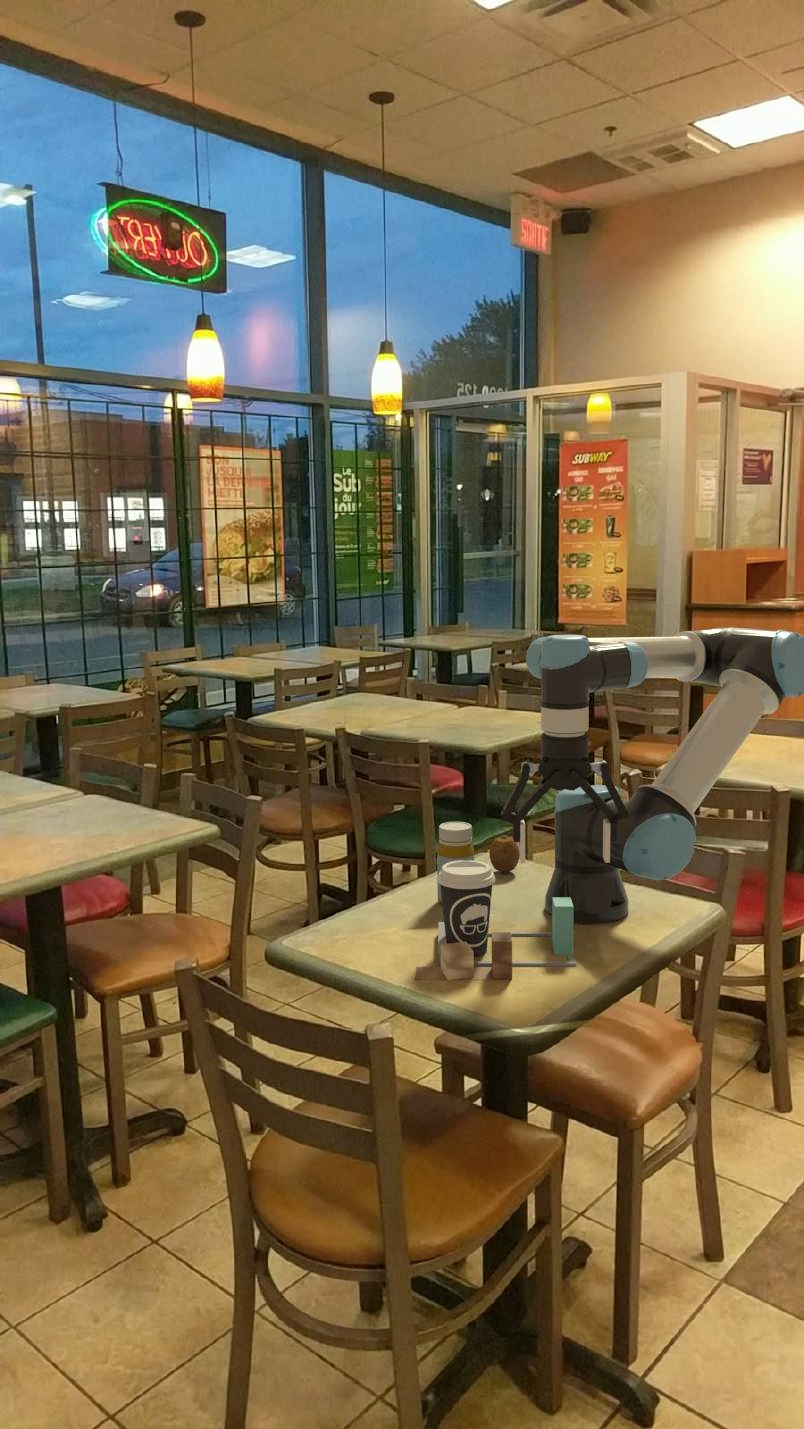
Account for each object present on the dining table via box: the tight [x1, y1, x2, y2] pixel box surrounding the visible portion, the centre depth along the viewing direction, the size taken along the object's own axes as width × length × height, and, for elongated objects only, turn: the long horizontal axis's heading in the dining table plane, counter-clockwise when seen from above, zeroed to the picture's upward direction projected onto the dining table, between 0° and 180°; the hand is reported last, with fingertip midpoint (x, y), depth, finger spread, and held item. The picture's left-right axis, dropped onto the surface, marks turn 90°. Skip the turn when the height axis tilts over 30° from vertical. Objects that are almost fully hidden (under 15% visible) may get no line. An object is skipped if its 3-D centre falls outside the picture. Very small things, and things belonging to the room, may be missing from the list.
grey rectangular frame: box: [437, 897, 577, 967], centre depth 174 cm, size 22×14×9 cm, turn 87°
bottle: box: [436, 821, 475, 906], centre depth 198 cm, size 7×7×15 cm
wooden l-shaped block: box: [414, 931, 513, 981], centre depth 165 cm, size 15×5×7 cm, turn 87°
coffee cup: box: [436, 860, 496, 958], centre depth 173 cm, size 10×10×15 cm
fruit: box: [488, 834, 520, 874], centre depth 216 cm, size 6×6×8 cm
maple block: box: [440, 942, 475, 981], centre depth 165 cm, size 4×4×4 cm
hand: (564, 860), depth 172 cm, fingers open, 13 cm apart
